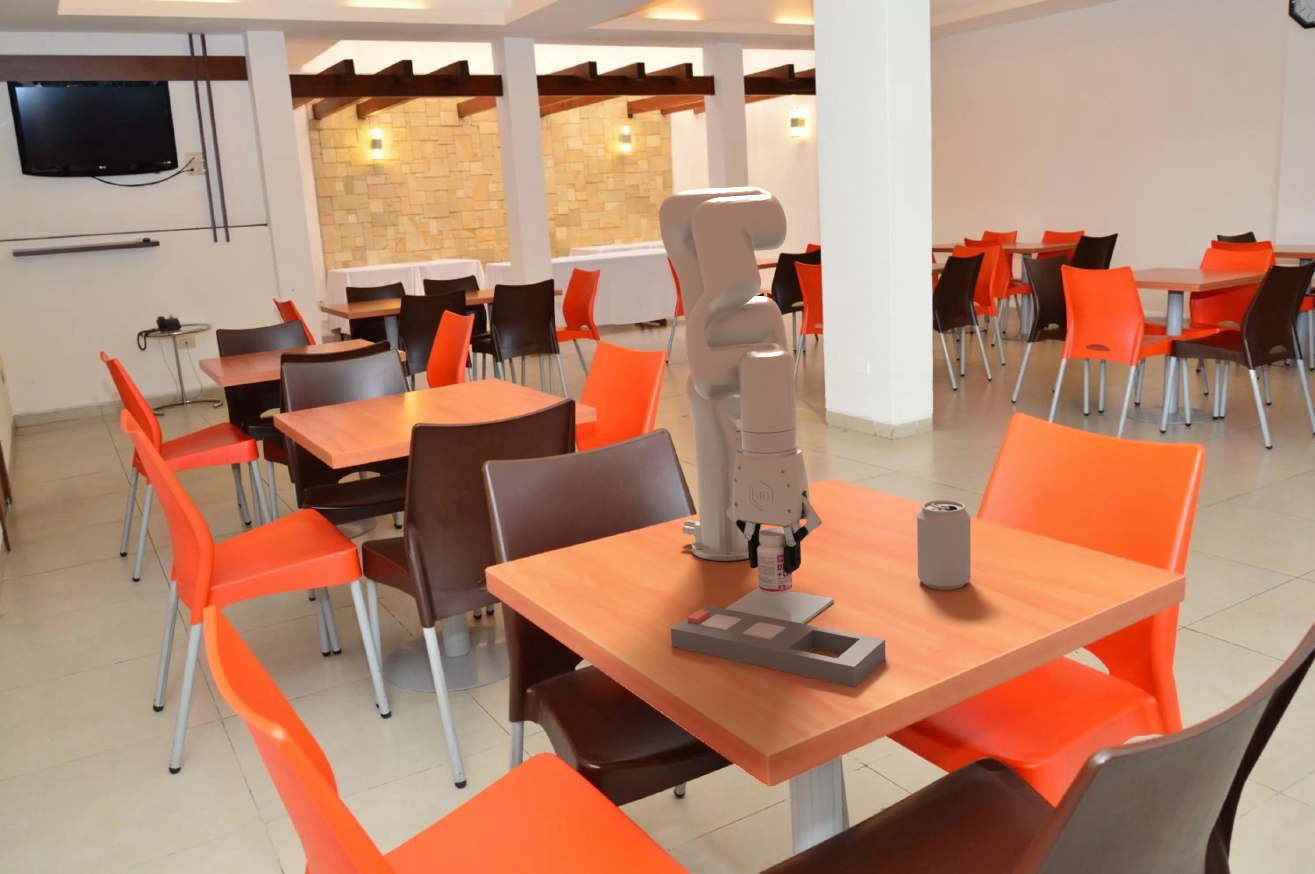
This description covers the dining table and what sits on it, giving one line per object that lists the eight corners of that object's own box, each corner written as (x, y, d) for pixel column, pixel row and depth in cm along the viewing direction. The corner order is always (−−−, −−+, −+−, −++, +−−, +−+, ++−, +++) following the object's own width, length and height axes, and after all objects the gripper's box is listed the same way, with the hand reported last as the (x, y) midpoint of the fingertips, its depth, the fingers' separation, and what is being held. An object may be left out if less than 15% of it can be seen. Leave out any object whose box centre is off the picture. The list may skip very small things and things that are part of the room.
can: (972, 591, 148) (972, 511, 146) (918, 591, 150) (917, 511, 147) (968, 574, 155) (968, 497, 153) (916, 573, 157) (915, 497, 155)
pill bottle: (783, 597, 143) (781, 538, 141) (753, 592, 145) (749, 535, 144) (798, 586, 147) (795, 528, 145) (768, 582, 149) (765, 525, 147)
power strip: (671, 646, 136) (670, 623, 136) (708, 622, 143) (707, 601, 143) (854, 686, 121) (853, 662, 121) (885, 658, 128) (885, 634, 128)
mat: (718, 616, 145) (717, 613, 145) (760, 589, 155) (760, 585, 155) (794, 631, 138) (794, 627, 138) (834, 601, 148) (833, 598, 148)
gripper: (702, 442, 144) (709, 567, 147) (812, 451, 134) (817, 585, 137) (730, 432, 150) (736, 552, 153) (838, 439, 140) (842, 568, 143)
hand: (774, 566), depth 145 cm, fingers closed on pill bottle, 4 cm apart
